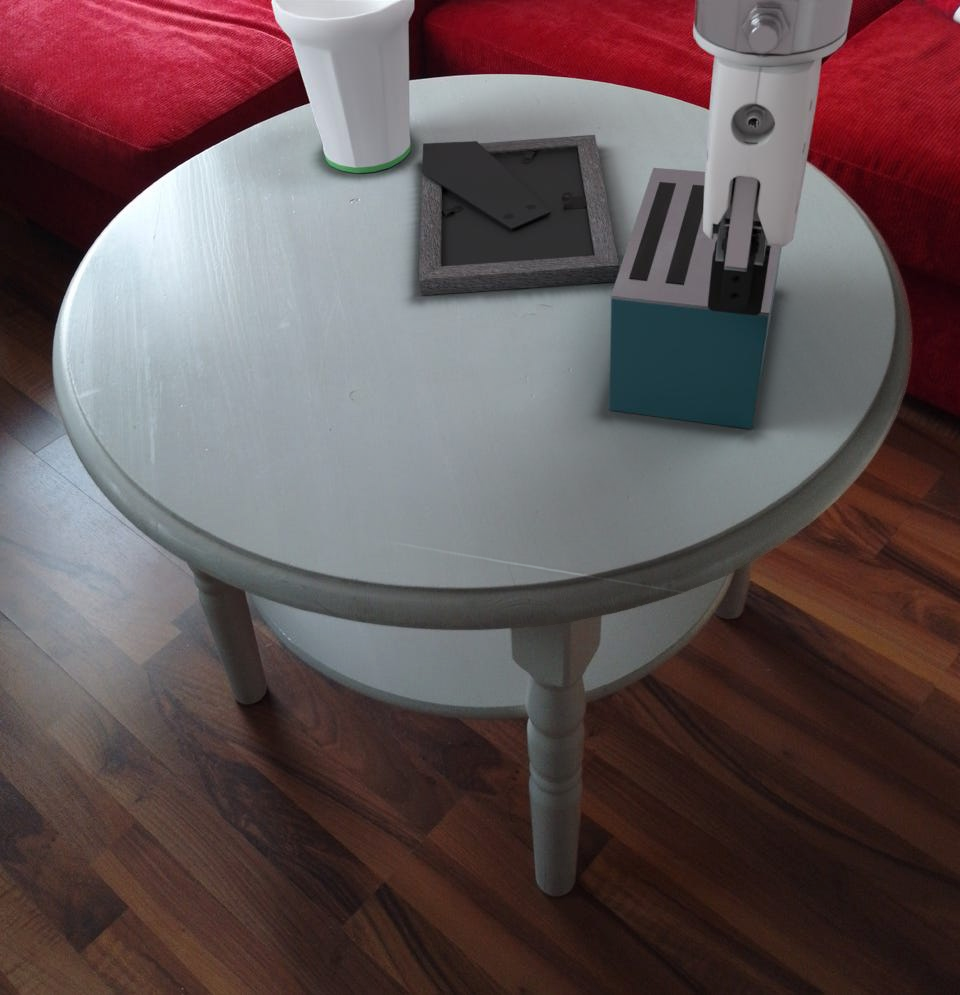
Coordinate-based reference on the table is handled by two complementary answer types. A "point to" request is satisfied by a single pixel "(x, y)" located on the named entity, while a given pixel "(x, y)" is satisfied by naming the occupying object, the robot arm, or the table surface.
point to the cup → (354, 76)
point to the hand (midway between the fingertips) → (735, 304)
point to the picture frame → (514, 216)
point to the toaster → (682, 317)
